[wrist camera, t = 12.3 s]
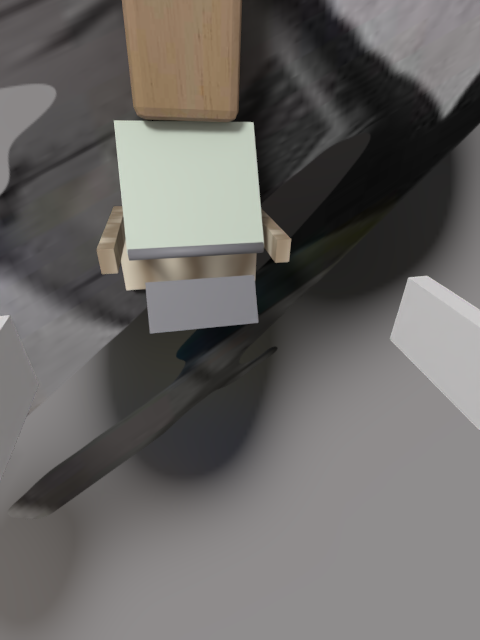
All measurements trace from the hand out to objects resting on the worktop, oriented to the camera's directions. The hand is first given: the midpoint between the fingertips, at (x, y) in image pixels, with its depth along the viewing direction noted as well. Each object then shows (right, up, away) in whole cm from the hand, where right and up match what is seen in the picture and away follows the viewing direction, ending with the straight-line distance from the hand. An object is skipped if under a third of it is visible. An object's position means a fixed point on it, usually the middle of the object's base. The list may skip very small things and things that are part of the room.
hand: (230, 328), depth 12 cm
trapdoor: (-5, +10, +26) cm, 29 cm away
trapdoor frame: (-7, +11, +38) cm, 40 cm away
